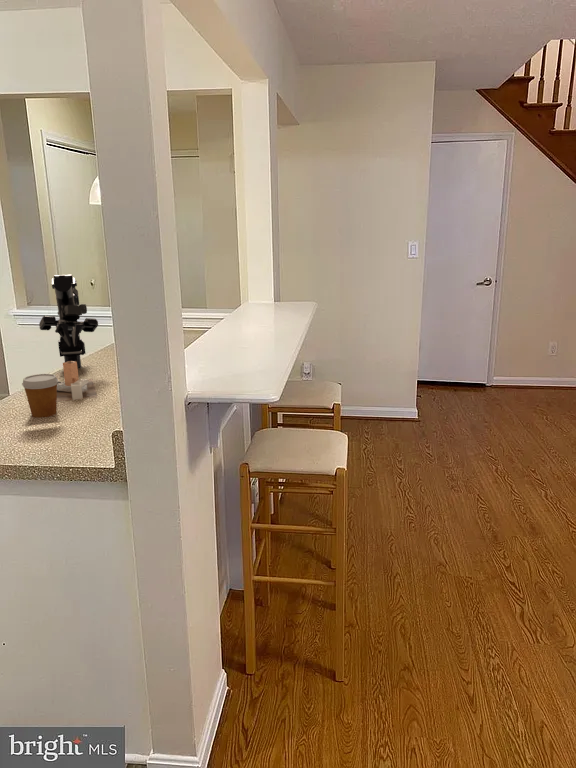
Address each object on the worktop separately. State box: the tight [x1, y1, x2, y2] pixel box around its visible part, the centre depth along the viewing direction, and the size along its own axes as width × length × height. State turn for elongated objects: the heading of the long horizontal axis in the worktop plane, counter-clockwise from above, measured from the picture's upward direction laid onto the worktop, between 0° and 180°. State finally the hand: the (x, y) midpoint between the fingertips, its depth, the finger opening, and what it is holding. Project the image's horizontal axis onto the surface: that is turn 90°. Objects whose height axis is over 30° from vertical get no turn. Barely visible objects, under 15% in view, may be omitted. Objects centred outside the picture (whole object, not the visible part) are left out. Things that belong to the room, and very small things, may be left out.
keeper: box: [71, 378, 89, 401], centre depth 183 cm, size 8×5×4 cm
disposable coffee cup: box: [21, 373, 59, 419], centre depth 165 cm, size 10×10×12 cm
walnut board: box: [57, 378, 98, 403], centre depth 189 cm, size 24×15×1 cm, turn 22°
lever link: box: [57, 361, 87, 393], centre depth 186 cm, size 4×14×10 cm, turn 70°
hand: (72, 345), depth 200 cm, fingers closed
